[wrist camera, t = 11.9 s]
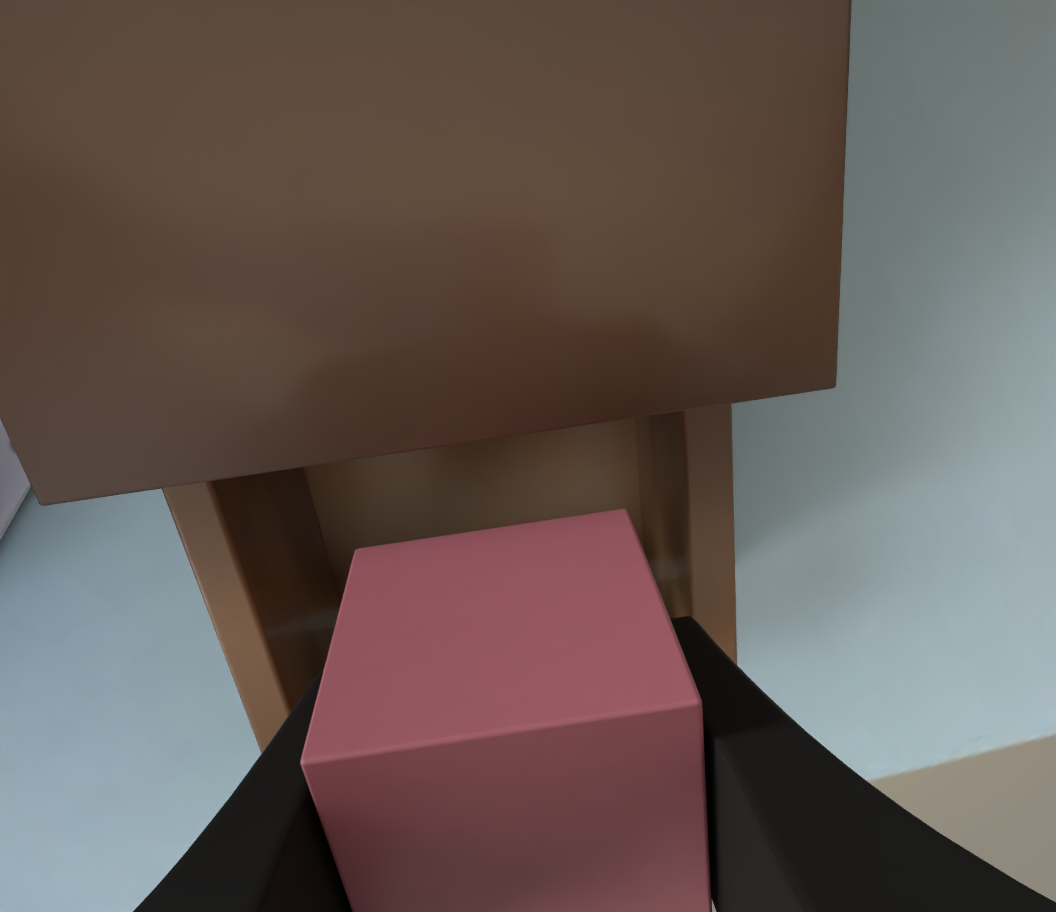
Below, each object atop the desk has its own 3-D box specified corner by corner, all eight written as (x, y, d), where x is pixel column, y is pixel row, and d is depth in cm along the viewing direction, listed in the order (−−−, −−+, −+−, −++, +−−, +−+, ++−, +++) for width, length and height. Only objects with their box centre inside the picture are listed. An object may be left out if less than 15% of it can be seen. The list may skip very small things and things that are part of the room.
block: (646, 714, 13) (715, 956, 10) (408, 751, 13) (384, 1007, 10) (627, 506, 12) (703, 699, 8) (353, 547, 12) (297, 762, 8)
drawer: (701, 744, 23) (772, 941, 17) (359, 795, 23) (325, 1009, 17) (669, 107, 15) (775, 108, 10) (166, 180, 15) (3, 221, 10)
